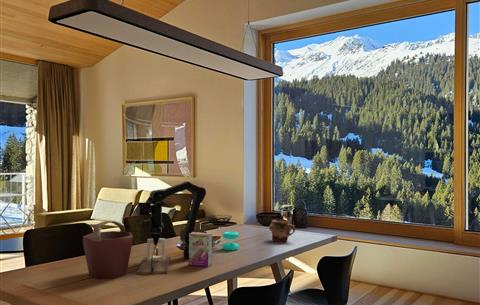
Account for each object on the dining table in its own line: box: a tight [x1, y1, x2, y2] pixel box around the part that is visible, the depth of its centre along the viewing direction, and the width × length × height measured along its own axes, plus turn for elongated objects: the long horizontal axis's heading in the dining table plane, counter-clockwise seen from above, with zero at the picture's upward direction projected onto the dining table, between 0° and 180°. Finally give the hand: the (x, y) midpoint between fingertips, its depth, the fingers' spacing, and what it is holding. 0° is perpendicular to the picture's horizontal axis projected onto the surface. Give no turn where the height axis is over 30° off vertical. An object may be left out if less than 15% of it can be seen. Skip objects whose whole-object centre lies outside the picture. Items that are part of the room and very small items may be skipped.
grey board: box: [136, 255, 171, 275], centre depth 224 cm, size 14×31×1 cm, turn 6°
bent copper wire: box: [151, 245, 159, 271], centre depth 223 cm, size 1×29×9 cm, turn 6°
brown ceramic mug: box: [268, 219, 296, 243], centre depth 290 cm, size 20×12×14 cm, turn 56°
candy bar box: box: [188, 231, 213, 268], centre depth 226 cm, size 11×5×16 cm, turn 71°
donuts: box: [221, 231, 240, 251], centre depth 265 cm, size 10×10×10 cm
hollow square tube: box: [146, 237, 166, 261], centre depth 232 cm, size 9×5×11 cm, turn 96°
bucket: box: [82, 220, 134, 280], centre depth 208 cm, size 24×22×25 cm
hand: (156, 243), depth 232 cm, fingers open, 9 cm apart
